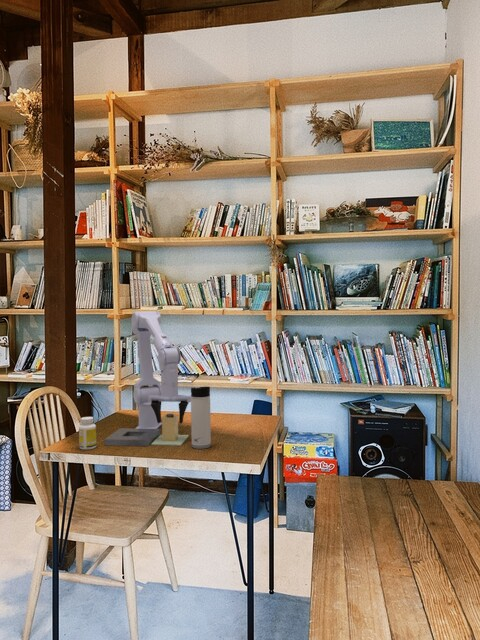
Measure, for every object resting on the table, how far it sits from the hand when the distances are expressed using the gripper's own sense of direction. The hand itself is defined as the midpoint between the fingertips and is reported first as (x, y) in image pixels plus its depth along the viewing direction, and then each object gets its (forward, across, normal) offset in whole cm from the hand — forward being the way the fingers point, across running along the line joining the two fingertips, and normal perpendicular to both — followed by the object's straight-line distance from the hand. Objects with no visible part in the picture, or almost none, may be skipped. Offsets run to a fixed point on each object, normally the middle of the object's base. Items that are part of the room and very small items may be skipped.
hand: (170, 422), depth 175 cm
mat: (+6, 0, 0) cm, 6 cm away
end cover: (+6, 0, 0) cm, 6 cm away
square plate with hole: (+6, -13, 0) cm, 14 cm away
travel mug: (+6, +12, -7) cm, 15 cm away
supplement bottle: (+6, -25, -11) cm, 28 cm away
